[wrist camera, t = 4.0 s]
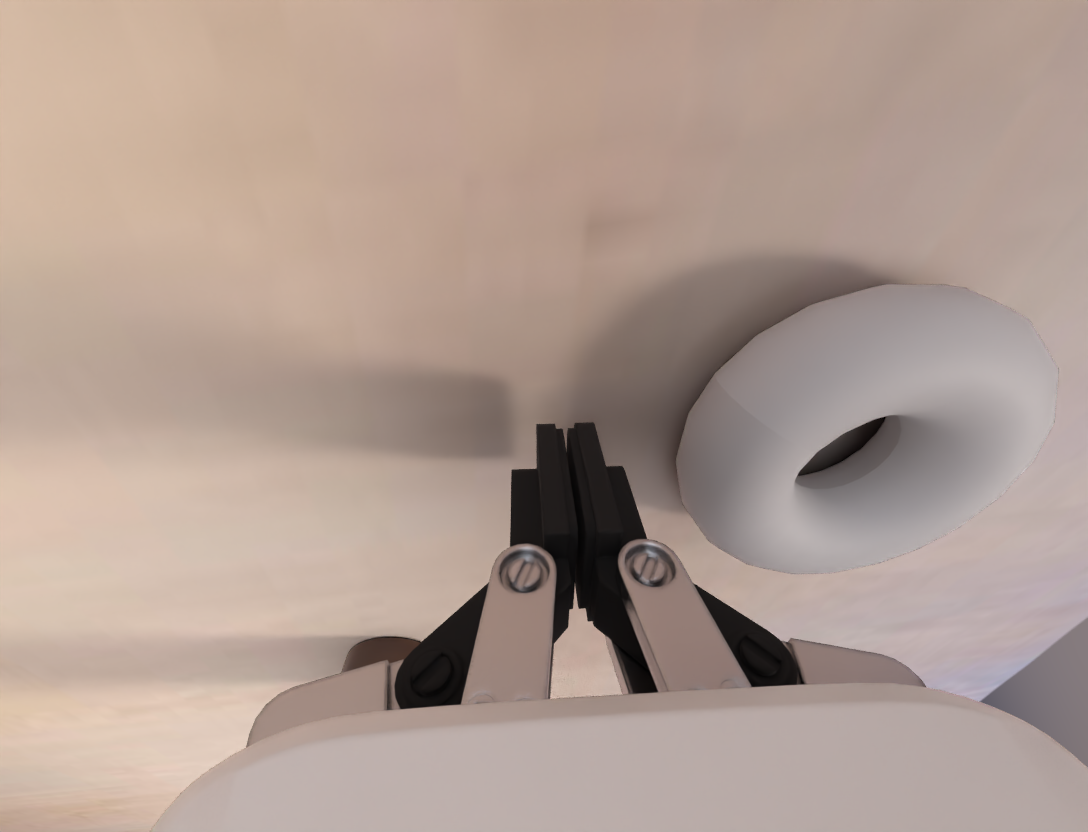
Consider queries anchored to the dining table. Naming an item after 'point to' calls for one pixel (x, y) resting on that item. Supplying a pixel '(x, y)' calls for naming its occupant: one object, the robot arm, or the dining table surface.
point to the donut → (852, 400)
